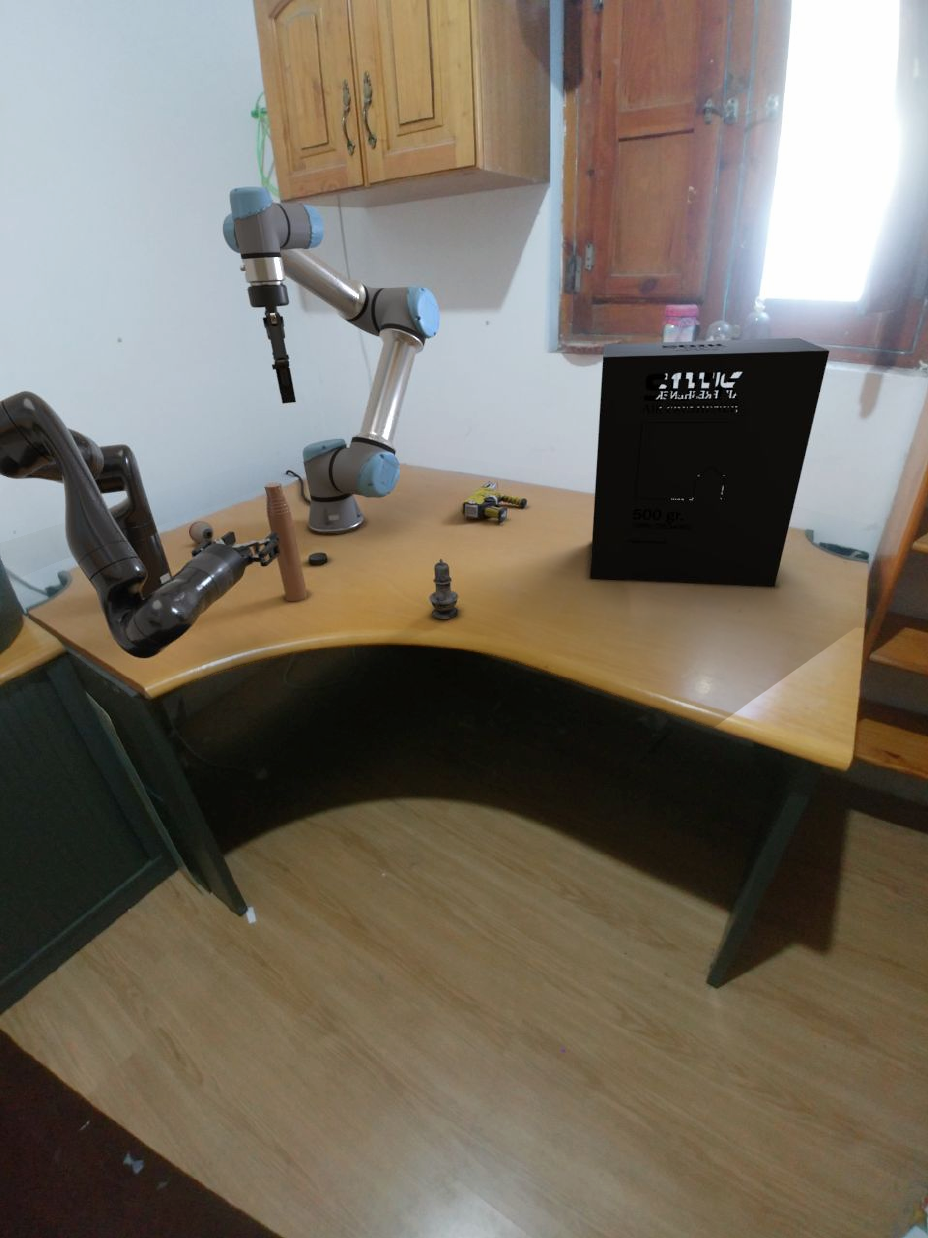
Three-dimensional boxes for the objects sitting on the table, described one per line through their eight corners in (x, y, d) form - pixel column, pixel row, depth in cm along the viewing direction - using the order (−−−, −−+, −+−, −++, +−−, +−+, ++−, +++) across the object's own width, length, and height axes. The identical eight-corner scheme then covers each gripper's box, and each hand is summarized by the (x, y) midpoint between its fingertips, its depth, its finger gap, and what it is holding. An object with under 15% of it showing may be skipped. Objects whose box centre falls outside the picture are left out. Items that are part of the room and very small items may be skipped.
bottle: (309, 598, 131) (285, 485, 119) (287, 603, 130) (262, 489, 117) (305, 590, 135) (282, 479, 123) (284, 594, 134) (259, 483, 121)
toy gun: (534, 486, 180) (487, 479, 184) (513, 510, 160) (461, 501, 164) (533, 501, 182) (486, 494, 186) (512, 527, 162) (460, 518, 166)
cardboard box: (755, 547, 142) (798, 337, 120) (774, 586, 125) (829, 350, 102) (592, 542, 150) (603, 344, 127) (589, 578, 133) (603, 356, 110)
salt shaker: (456, 620, 119) (452, 565, 113) (427, 618, 121) (422, 564, 115) (462, 606, 124) (458, 552, 118) (434, 604, 126) (429, 551, 120)
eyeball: (202, 548, 159) (196, 527, 156) (187, 544, 162) (181, 523, 159) (221, 540, 163) (215, 519, 160) (206, 537, 166) (200, 516, 163)
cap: (317, 556, 151) (316, 551, 150) (331, 559, 149) (330, 554, 148) (305, 563, 148) (304, 558, 147) (319, 567, 146) (318, 561, 145)
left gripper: (246, 554, 97) (286, 517, 110) (164, 553, 99) (214, 517, 112) (256, 595, 100) (293, 555, 114) (178, 593, 102) (224, 554, 116)
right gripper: (247, 284, 128) (268, 390, 138) (245, 285, 107) (270, 409, 118) (283, 282, 130) (301, 387, 140) (288, 282, 109) (309, 405, 119)
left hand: (254, 536), depth 113 cm, fingers open, 8 cm apart
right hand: (287, 397), depth 129 cm, fingers open, 13 cm apart
